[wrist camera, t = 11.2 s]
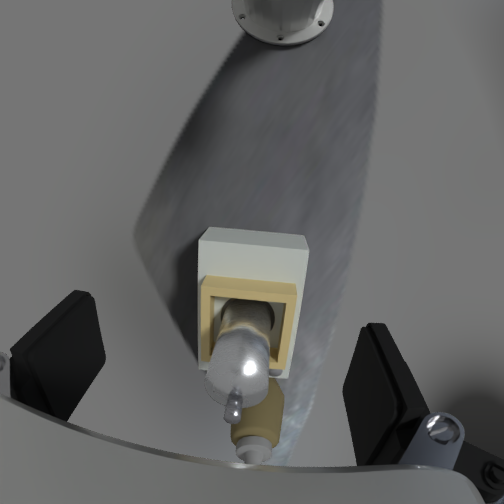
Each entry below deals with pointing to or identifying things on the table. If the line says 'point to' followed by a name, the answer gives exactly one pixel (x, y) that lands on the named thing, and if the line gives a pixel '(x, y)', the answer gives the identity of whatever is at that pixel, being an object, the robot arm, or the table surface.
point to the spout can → (240, 358)
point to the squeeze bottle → (259, 427)
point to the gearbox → (251, 286)
